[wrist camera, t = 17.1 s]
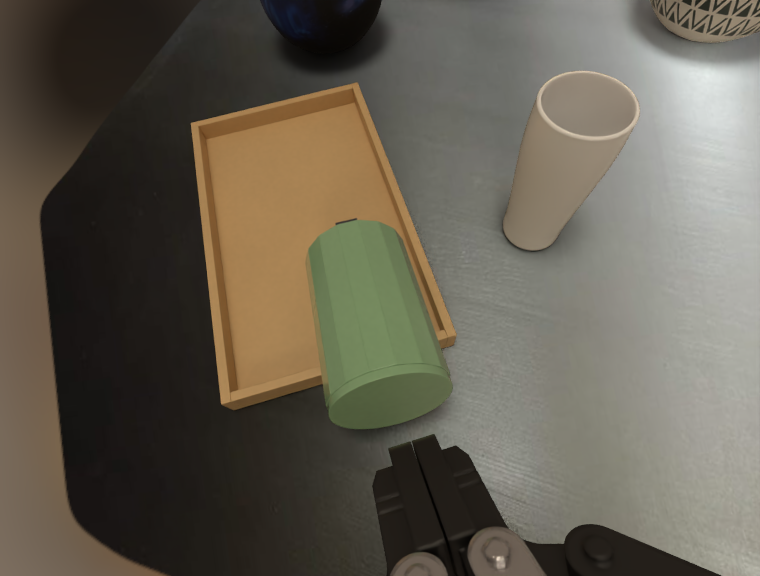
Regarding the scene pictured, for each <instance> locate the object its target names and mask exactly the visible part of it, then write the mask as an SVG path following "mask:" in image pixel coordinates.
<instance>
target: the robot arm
mask: <svg viewBox="0 0 760 576" xmlns="http://www.w3.org/2000/svg"><path fill="white" fill-rule="evenodd" d="M412 443H413V447H414V450H413V447H412V445H411V442H407V443H404V444H401V445H397V446H394V447H391V448H388V449H389V453H390V457H391V461H392V465H393V466H391V467H388V468H385V469H381V470H378V471H376V475H375V479H374V482H373V486H372V487H373V492H374V498H375V502H376V508H377V514H378V519H379V524H380V530H381V535H382V540H383V546H384V551H385V556H386V562H387V576H721V575H719V574H716V573H714V572H712V571H709V570H707V569H704V568H702V567H700V566H697V565H695V564H693V563H690V562H688V561H685V560H683V559H681V558H678V557H676V556H673V555H671V554H669V553H666V552H664V551H662V550H659V549H657V548H654V547H652V546H650V545H647V544H645V543H643V542H640V541H638V540H635V539H633V538H631V537H628V536H626V535H624V534H621V533H619V532H616V531H614V530H612V529H609V528H607V527H604V526H600V525H594V524H586V525H581V526H578V527H576V528H574V529H572V530H571V531H570V532H569V533H568V535H567V536H566V539H565V542H564V544H537V543H532V542H529V541H526V540H523V539H522V538H521V537H520V536H519V535H518V534H516V533H515V532H513V531H512V530H510V529H509V528H508V527H507V525H506V524H505V522H504V520H503V518H502V517H501V515H500V513H499V511H498V509H497V507H496V505H495V503H494V502H493V500H492V498H491V496H490V494H489V492H488V490H487V489H486V487H485V485H484V483H483V482H482V479H481V477H480V475H479V474H478V472H477V471H476V468H475V466H474V464H473V462H472V460H471V459H470V457H469V455H468V454H467V453H465V452H464V451H463V450H461V449H460V448H459V447H457V446H453V447H450V448H447V449H443V450H441V447H440V445H439V443H438V441H437V439H436V436H435V435H434V434H432V435H429V436H426V437H423V438H420V439H416V440H413V441H412ZM414 451H415V453H414ZM415 454H416V456H415ZM416 458H417V459H416Z"/></svg>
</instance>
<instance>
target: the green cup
mask: <svg viewBox="0 0 760 576" xmlns="http://www.w3.org/2000/svg"><path fill="white" fill-rule="evenodd" d="M305 265H306V271H307V278H308V285H309V292H310V299H311V306H312V313H313V320H314V327H315V334H316V341H317V348H318V355H319V361H320V368H321V375H322V382H323V389H324V396H325V403H326V407H327V409H328V416H329V418H330V420H331V421H332V422H333V423H334V424H336V425H338V426H341V427H344V428H350V429H373V428H381V427H386V426H391V425H396V424H399V423H403V422H406V421H409V420H412V419H414V418H417V417H419V416H422V415H424V414H426V413H428V412H430V411H431V410H433V409H435V408H436V407H438V406H439V405H441V404H442V403H443V402H444V401H445V400H446V399H447V398H448V397H449V396H450V394H451V392H452V389H453V385H452V381H451V379H450V372H449V370H448V367H447V364H446V361H445V358H444V355H443V352H442V350H441V347H440V344H439V341H438V338H437V335H436V333H435V330H434V327H433V324H432V321H431V318H430V316H429V313H428V310H427V307H426V304H425V301H424V298H423V296H422V293H421V290H420V287H419V284H418V281H417V279H416V276H415V273H414V270H413V267H412V264H411V262H410V259H409V256H408V253H407V250H406V247H405V244H404V242H403V239H402V238H401V237H400V235H399V234H398V233H397V232H396V230H395V229H394V228H392V227H390V226H388V225H386V224H383V223H381V222H379V221H369V220H354V221H350V222H346V223H342V224H338V225H335V226H334V227H332V228H330V229H329V230H327V231H325V232H323V233H322V234H320V235H319V236H318V237H317V238H316V240H315V241H314V242H313V243H312V245H311V246H310V247H309V248H308V252H307V257H306V261H305Z"/></svg>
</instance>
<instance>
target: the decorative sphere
mask: <svg viewBox="0 0 760 576" xmlns="http://www.w3.org/2000/svg"><path fill="white" fill-rule="evenodd" d="M260 1H261V4H262V6H263V8H264V10H265V12H266V14H267V16H268V18H269V19H270V21H271V22H272V24H273V25H274V26H275V28H276V29H277V30H278V31H279V32H280V33H281V34H282V35H283V36H284V37H285V38H286V39H288V40H289V41H290V42H291V43H293V44H295V45H296V46H298V47H300V48H302V49H305V50H307V51H311V52H315V53H334V52H338V51H342V50H344V49H346V48H348V47H350V46H352V45H354V44H355V43H356V42H358V41H359V40H360V39H361V38H362V37H363V36H364V35H365V34H366V33H367V31H368V30H369V29H370V27H371V26H372V24H373V22H374V20H375V18H376V16H377V14H378V11H379V8H380V5H381V1H382V0H260Z"/></svg>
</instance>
